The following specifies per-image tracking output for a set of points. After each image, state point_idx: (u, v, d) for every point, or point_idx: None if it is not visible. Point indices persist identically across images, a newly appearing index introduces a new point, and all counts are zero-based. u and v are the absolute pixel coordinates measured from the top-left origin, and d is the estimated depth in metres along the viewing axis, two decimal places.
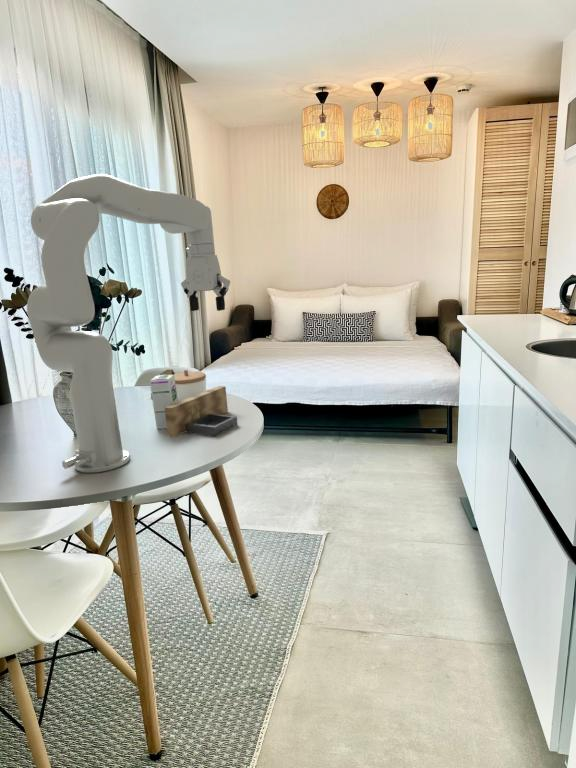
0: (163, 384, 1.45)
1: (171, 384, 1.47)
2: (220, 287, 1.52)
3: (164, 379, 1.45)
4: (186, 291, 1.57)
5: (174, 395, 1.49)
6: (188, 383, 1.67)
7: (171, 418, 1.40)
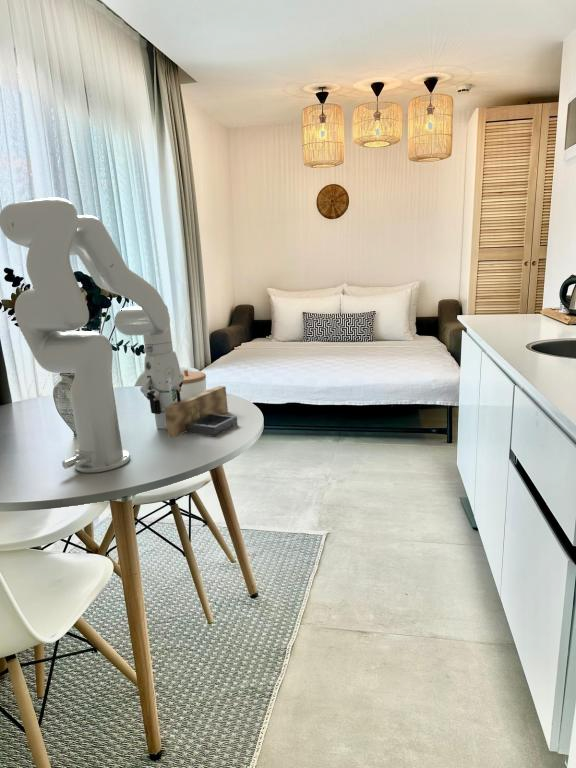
0: None
1: (171, 384, 1.47)
2: None
3: None
4: (151, 395, 1.43)
5: (174, 395, 1.49)
6: (188, 383, 1.67)
7: (171, 418, 1.40)
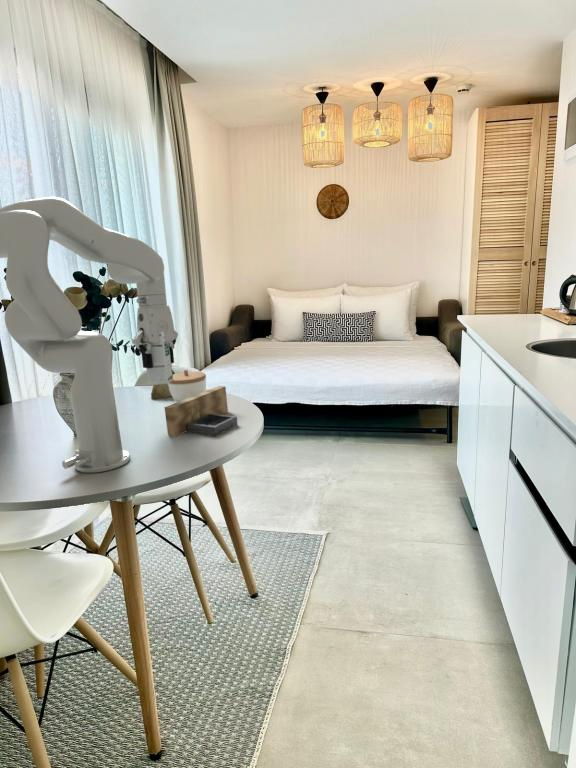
0: None
1: (164, 338, 1.43)
2: None
3: None
4: (143, 347, 1.40)
5: (167, 350, 1.45)
6: (188, 383, 1.67)
7: (171, 418, 1.40)
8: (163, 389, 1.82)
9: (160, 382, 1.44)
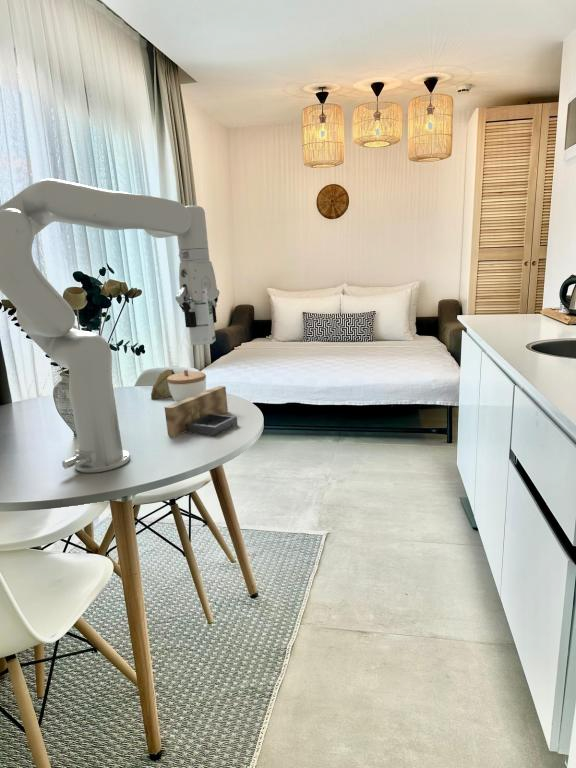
0: None
1: (207, 295, 1.36)
2: None
3: None
4: (186, 305, 1.32)
5: (210, 309, 1.37)
6: (188, 383, 1.67)
7: (171, 418, 1.40)
8: (163, 389, 1.82)
9: (204, 342, 1.37)
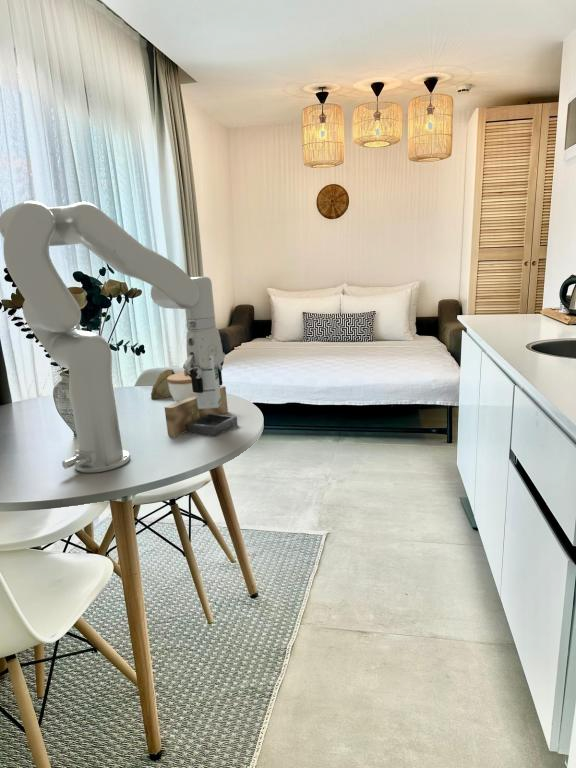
0: None
1: (214, 362, 1.40)
2: None
3: None
4: (194, 372, 1.36)
5: (216, 373, 1.41)
6: (188, 383, 1.67)
7: (171, 418, 1.40)
8: (163, 389, 1.82)
9: (210, 406, 1.41)
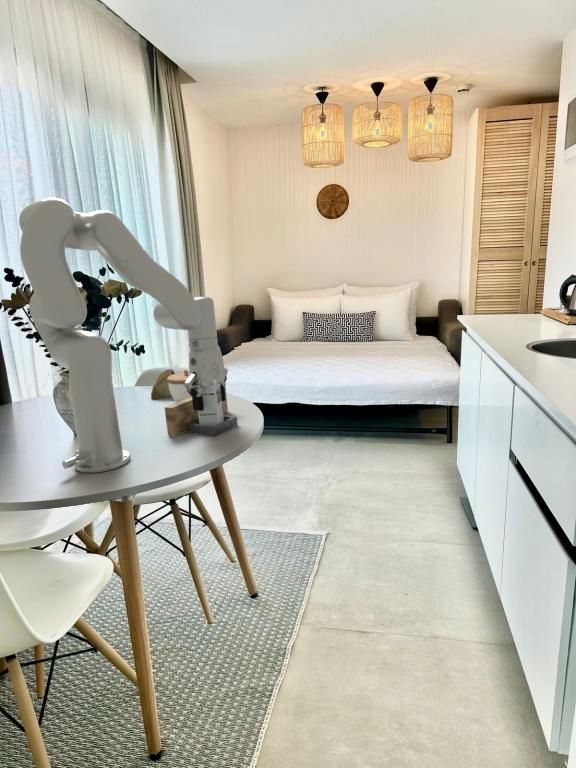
0: None
1: (216, 386, 1.41)
2: None
3: None
4: (194, 391, 1.37)
5: (219, 397, 1.43)
6: None
7: (171, 418, 1.40)
8: (163, 389, 1.82)
9: None
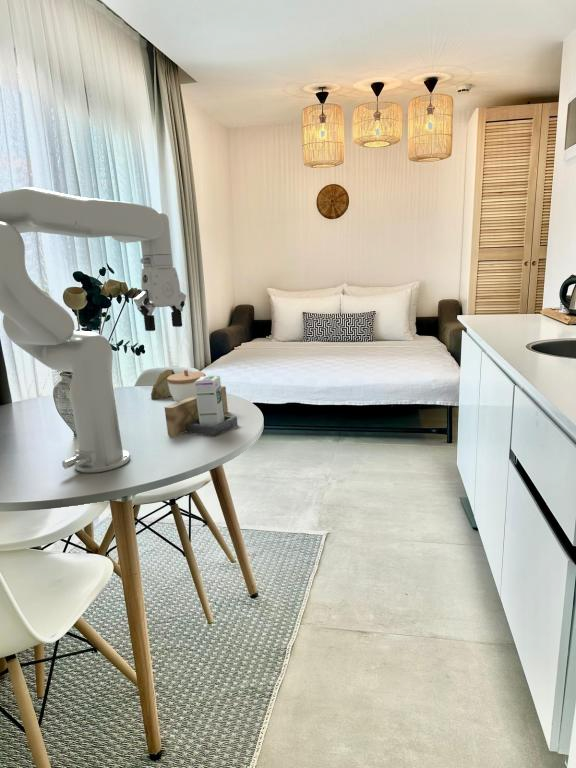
0: (208, 386, 1.40)
1: (216, 386, 1.41)
2: None
3: (209, 381, 1.40)
4: (145, 308, 1.32)
5: (219, 397, 1.43)
6: (188, 383, 1.67)
7: (171, 418, 1.40)
8: (163, 389, 1.82)
9: None
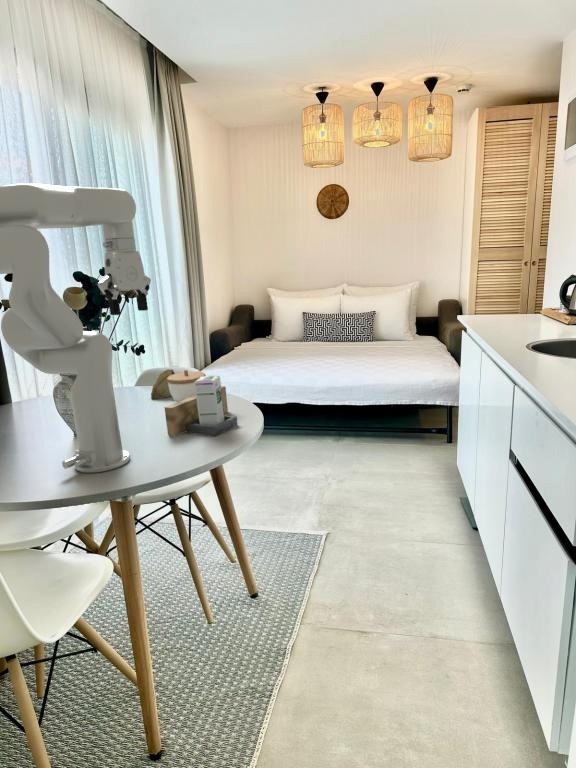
0: (208, 386, 1.40)
1: (216, 386, 1.41)
2: None
3: (209, 381, 1.40)
4: (109, 292, 1.33)
5: (219, 397, 1.43)
6: (188, 383, 1.67)
7: (171, 418, 1.40)
8: (163, 389, 1.82)
9: None
